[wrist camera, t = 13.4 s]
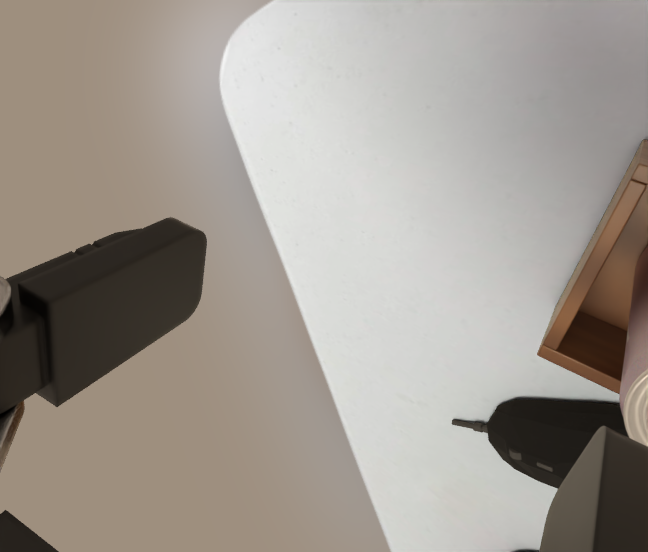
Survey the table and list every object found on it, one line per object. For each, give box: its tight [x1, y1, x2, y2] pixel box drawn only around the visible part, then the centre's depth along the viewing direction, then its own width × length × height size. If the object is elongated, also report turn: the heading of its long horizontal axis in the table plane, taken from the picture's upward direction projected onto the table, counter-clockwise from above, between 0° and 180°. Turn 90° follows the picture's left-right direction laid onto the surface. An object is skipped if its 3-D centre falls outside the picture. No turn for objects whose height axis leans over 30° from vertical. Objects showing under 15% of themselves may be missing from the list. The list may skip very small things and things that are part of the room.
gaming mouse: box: [452, 399, 629, 489], centre depth 38 cm, size 6×15×4 cm, turn 104°
